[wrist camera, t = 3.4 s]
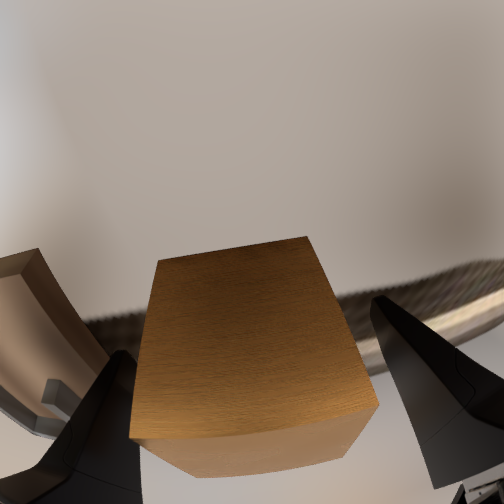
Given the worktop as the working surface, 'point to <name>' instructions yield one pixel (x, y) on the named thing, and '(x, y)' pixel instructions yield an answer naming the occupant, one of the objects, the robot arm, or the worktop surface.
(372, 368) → the worktop surface
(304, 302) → the block
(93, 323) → the worktop surface
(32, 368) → the dock
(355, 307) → the worktop surface
